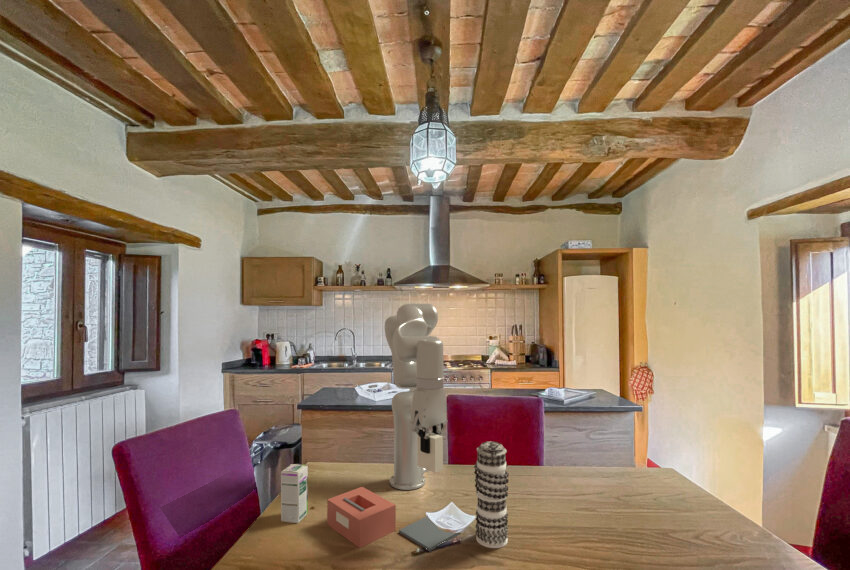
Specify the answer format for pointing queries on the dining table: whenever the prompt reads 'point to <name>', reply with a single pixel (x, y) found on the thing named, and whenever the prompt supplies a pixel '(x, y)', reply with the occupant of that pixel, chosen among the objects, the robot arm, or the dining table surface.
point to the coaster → (426, 533)
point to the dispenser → (361, 516)
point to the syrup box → (294, 493)
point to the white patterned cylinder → (491, 495)
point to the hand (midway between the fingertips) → (429, 450)
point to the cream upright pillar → (431, 454)
